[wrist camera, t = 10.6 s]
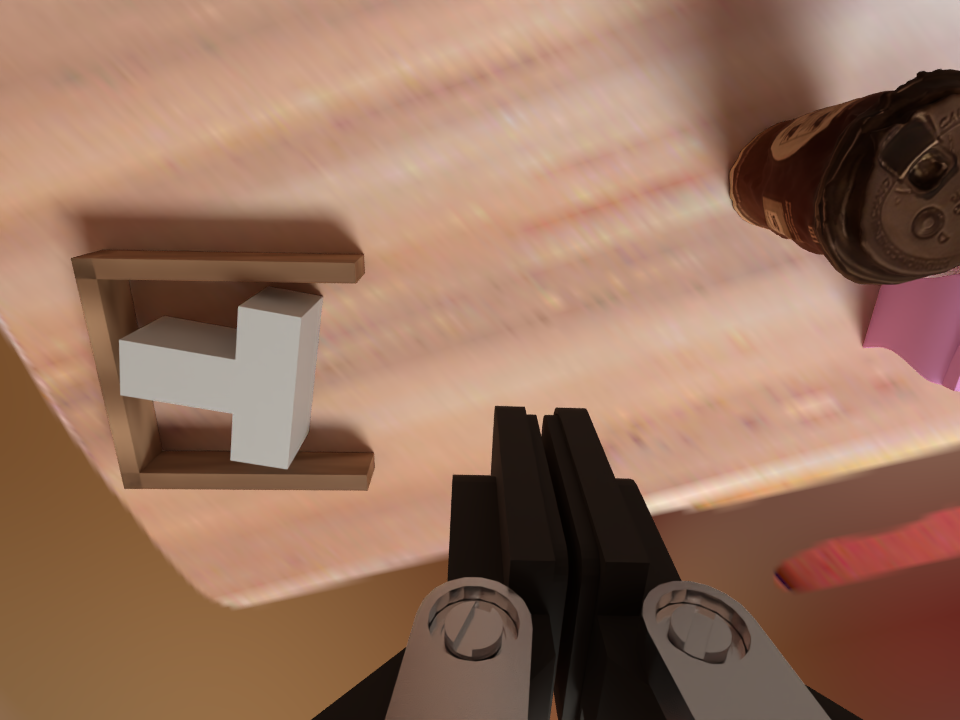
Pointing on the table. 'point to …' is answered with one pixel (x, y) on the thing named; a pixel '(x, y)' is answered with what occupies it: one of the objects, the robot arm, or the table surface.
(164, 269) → the corral
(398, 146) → the table surface
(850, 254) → the coffee cup
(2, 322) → the table surface
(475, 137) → the table surface
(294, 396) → the tee block
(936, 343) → the toy chair
